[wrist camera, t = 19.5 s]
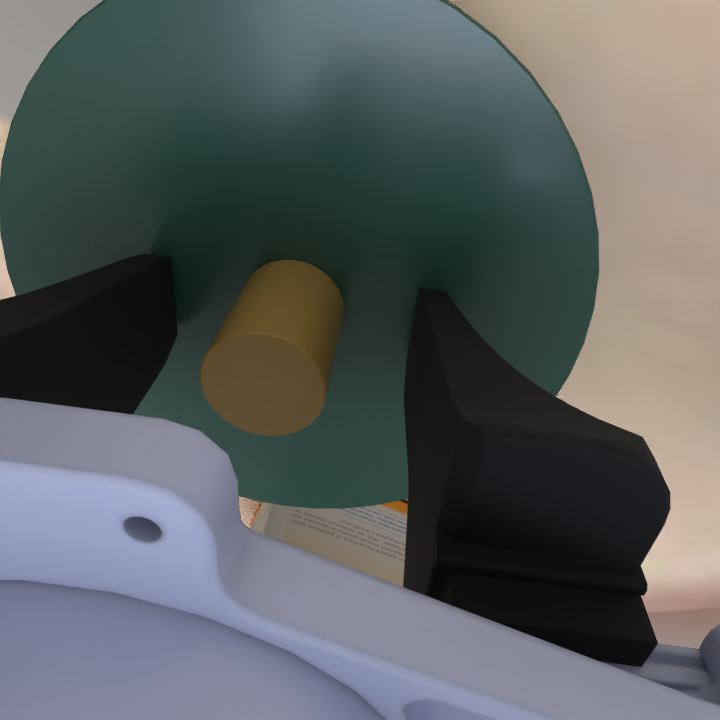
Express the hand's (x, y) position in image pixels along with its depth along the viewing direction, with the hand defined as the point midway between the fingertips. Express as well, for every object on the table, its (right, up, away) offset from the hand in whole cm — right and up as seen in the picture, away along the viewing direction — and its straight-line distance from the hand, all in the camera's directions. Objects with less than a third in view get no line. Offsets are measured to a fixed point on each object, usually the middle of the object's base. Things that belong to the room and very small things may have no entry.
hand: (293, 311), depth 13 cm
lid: (0, 0, +1) cm, 1 cm away
